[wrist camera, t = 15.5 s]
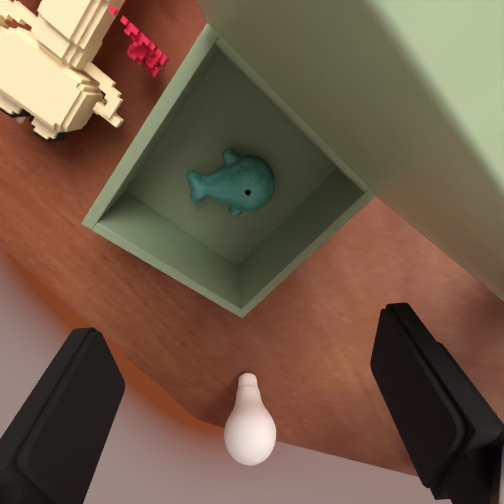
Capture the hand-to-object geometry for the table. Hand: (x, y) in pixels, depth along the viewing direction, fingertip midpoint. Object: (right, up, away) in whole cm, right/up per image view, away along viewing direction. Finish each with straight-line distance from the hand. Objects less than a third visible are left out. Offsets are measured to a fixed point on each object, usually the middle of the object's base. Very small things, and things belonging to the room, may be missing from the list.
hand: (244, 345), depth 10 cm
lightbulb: (0, -14, +31) cm, 34 cm away
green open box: (-2, +10, +17) cm, 19 cm away
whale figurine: (-2, +10, +16) cm, 19 cm away
